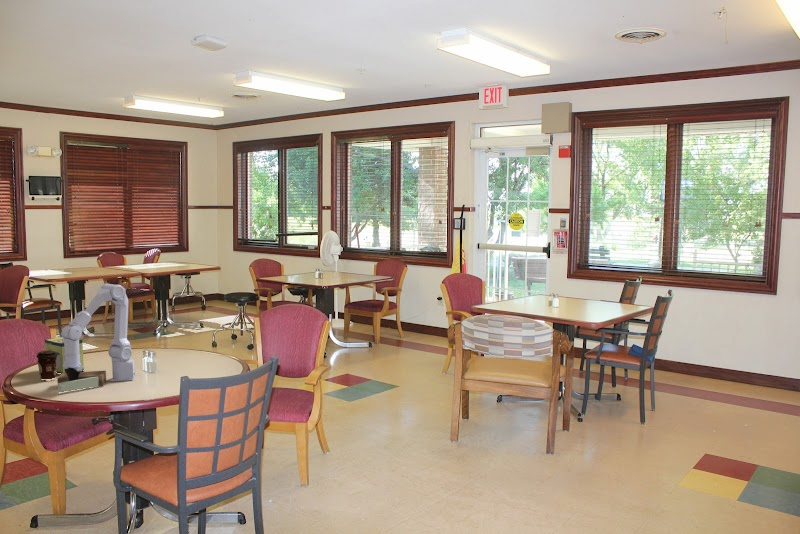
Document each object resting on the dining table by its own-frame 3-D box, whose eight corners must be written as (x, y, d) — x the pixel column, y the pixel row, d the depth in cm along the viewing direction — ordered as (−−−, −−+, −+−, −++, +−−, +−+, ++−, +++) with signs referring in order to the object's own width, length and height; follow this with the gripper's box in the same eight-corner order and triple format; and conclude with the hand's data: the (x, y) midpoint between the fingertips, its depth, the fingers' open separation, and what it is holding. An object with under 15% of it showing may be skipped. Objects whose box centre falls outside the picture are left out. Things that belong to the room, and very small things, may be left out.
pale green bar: (98, 386, 294) (97, 376, 294) (100, 387, 293) (99, 377, 293) (58, 393, 283) (57, 383, 282) (59, 394, 282) (59, 384, 281)
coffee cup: (35, 382, 301) (33, 354, 300) (39, 378, 309) (38, 350, 308) (56, 381, 303) (55, 353, 302) (60, 376, 311) (59, 349, 310)
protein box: (66, 367, 330) (65, 335, 329) (84, 371, 322) (83, 339, 320) (45, 371, 322) (43, 339, 320) (63, 376, 313) (61, 343, 312)
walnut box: (106, 381, 304) (105, 370, 303) (102, 386, 295) (102, 375, 295) (62, 384, 299) (62, 373, 299) (57, 389, 291) (57, 378, 290)
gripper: (55, 352, 290) (57, 383, 291) (69, 357, 280) (70, 389, 281) (72, 350, 295) (73, 380, 296) (86, 355, 285) (88, 386, 286)
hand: (73, 384), depth 289 cm, fingers closed
